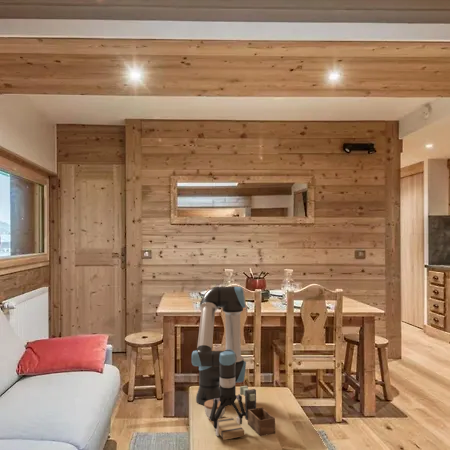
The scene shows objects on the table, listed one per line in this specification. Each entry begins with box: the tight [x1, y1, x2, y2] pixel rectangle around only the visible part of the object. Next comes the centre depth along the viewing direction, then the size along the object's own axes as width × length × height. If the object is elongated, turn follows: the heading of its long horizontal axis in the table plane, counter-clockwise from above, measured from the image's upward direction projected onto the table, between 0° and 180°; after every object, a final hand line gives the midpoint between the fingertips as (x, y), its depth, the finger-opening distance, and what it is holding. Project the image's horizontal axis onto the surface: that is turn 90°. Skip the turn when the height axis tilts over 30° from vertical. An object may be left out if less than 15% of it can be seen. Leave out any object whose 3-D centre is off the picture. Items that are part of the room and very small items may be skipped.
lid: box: [212, 416, 245, 440], centre depth 206 cm, size 16×10×4 cm, turn 20°
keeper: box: [244, 388, 257, 421], centre depth 223 cm, size 2×5×14 cm, turn 110°
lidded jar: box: [203, 399, 226, 420], centre depth 224 cm, size 11×11×9 cm
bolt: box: [239, 385, 255, 401], centre depth 227 cm, size 12×4×4 cm, turn 20°
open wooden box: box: [247, 407, 276, 437], centre depth 211 cm, size 14×8×7 cm, turn 20°
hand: (227, 433), depth 206 cm, fingers closed on lid, 10 cm apart
